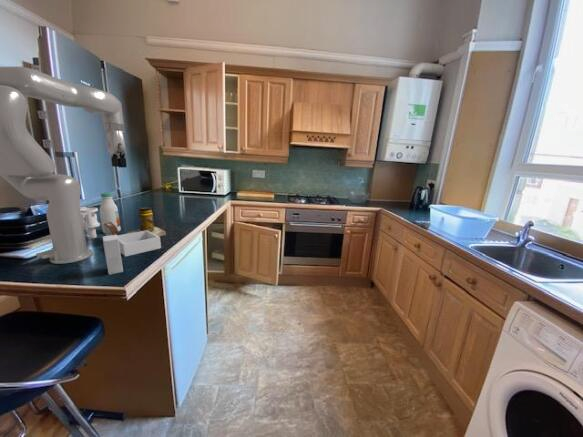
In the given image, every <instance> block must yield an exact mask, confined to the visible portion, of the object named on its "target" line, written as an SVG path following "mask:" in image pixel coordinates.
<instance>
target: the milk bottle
mask: <svg viewBox="0 0 583 437" xmlns="http://www.w3.org/2000/svg"><path fill="white" fill-rule="evenodd" d="M100 196H101V199H102V200H101V204H100V205H99V218H100V225H101V229H102V233H103V234H106V233H105V228H104V223H109V222H111V223H113V224H114V225H115V226H116V227H117V229H118V232H119V233H120V232H121V229H122V228H121V222H120V221H121V220H120V215H119V210H118V206H117V205H116V203H115V201H114V199H113V193H112V192H102V193H100Z"/></svg>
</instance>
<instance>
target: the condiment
mask: <svg viewBox="0 0 583 437" xmlns="http://www.w3.org/2000/svg"><path fill="white" fill-rule="evenodd" d="M138 210H139V211H138V220H139V229H136V230H137V231H136V230H133V231H134V232H140V231H146V230H148V231H150V232H151V233H152V232H157V231H156V230H154V227H155V222H154V221H155V220H154V213H153V212H152V207H150V206H143V207H139V209H138Z"/></svg>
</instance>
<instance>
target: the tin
mask: <svg viewBox="0 0 583 437" xmlns="http://www.w3.org/2000/svg"><path fill="white" fill-rule="evenodd" d="M104 228H105V233H104V234H105V236H110V235H120V234H119V233H120V231H119V232H118V229H117V227H116V226H115V225H114V224H113V223H111V222H109V223H104Z"/></svg>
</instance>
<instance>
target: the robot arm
mask: <svg viewBox="0 0 583 437" xmlns="http://www.w3.org/2000/svg"><path fill="white" fill-rule="evenodd" d="M27 98H33V99H36V100H40V101H45V102H48V103H51V104H52V103H53V104H56V105H59V106H62V107H63V106H64V107H70V108H82V110H83V111H85V112H87V113H88V114H94V115H102V122H103V128H104V132H106V145H107V148H106V149H107V153H108V154H110V158H111V159H110V160H111V166H112V168H113V167H115V168H117V167H118V168H121V169H122V168H127V165H128V164H127V159H126V158H127V157H126V142H125V138H124V133H126V130H125V124H124V115H123V108H122V103H121V101H120V100H119V99H118V98H117V97H116V96H115V95H113V94H112V93H110V92H107V91H105V90H101V89H99V88H95V87H91V86H86V85H82V84H79V83H76V82H75V83H74V82H70V81H66V80H64V79H60V78H57V77H54V76H52V75H49V74H47V73H44V72H41V71H39V70H35V69H33V68H30V67H25V66H0V177H2V178H3V179H4V180H5V181H6V182H7V183H9V184H10V185H11V186H12V187H13V188H14V189H15V190H17V191H18V192H19V193H20V194H21V195H22V196H25V197H26V198H28V199H31V200H36V201H48V205H47V207H46V220H47V224H48V225H47V226H48V229H49V234H50V239H51V244H52V247H50V248H51V249H49V250H48V251H45V252H38V253H36V259H43V260H44V259H48V258H49V262H50V263H52V264H54V265H55V264H56V265H61V264H69V263H77V262H79V261H84V260H86V259H89V258H91V257H92V256H93V254H94V252H93V250H92V249H89V248H88V246H87V241H86V240H87V239H86V234H85V228H83V222H82V216H83V215H81V210H80V207H81V203H80V202H81V186H80V183H79V181H78V180H77V179H76V178H75V177H73V176H71V175H67V174H60V173H55V171H56V164H55V162H54V160H53V159H52V158H51V156H50V155H49V154H48V153H47V152H46V151H45V149H43V148H42V146H41V145H40V144H39V143H38V142H37V141H36V140H35V139H34V137H33V136H32V134H30V132H29V131H28V128H27V124H26V119H27V113H28V108H29V107H28V106H29V104H28V102H27Z"/></svg>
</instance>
